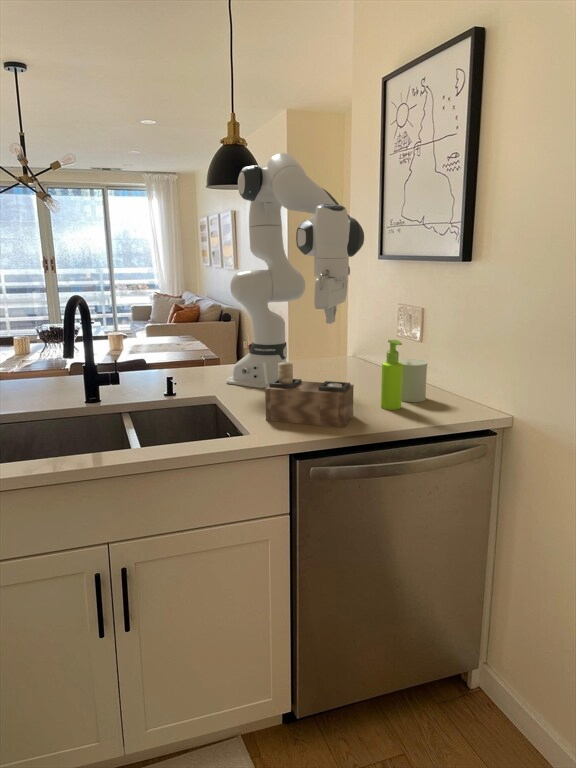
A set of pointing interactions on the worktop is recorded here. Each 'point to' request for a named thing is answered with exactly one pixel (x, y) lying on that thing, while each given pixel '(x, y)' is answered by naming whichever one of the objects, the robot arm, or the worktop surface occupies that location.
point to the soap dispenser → (391, 379)
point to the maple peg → (285, 372)
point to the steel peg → (334, 385)
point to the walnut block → (309, 403)
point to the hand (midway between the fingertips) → (330, 322)
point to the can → (413, 380)
